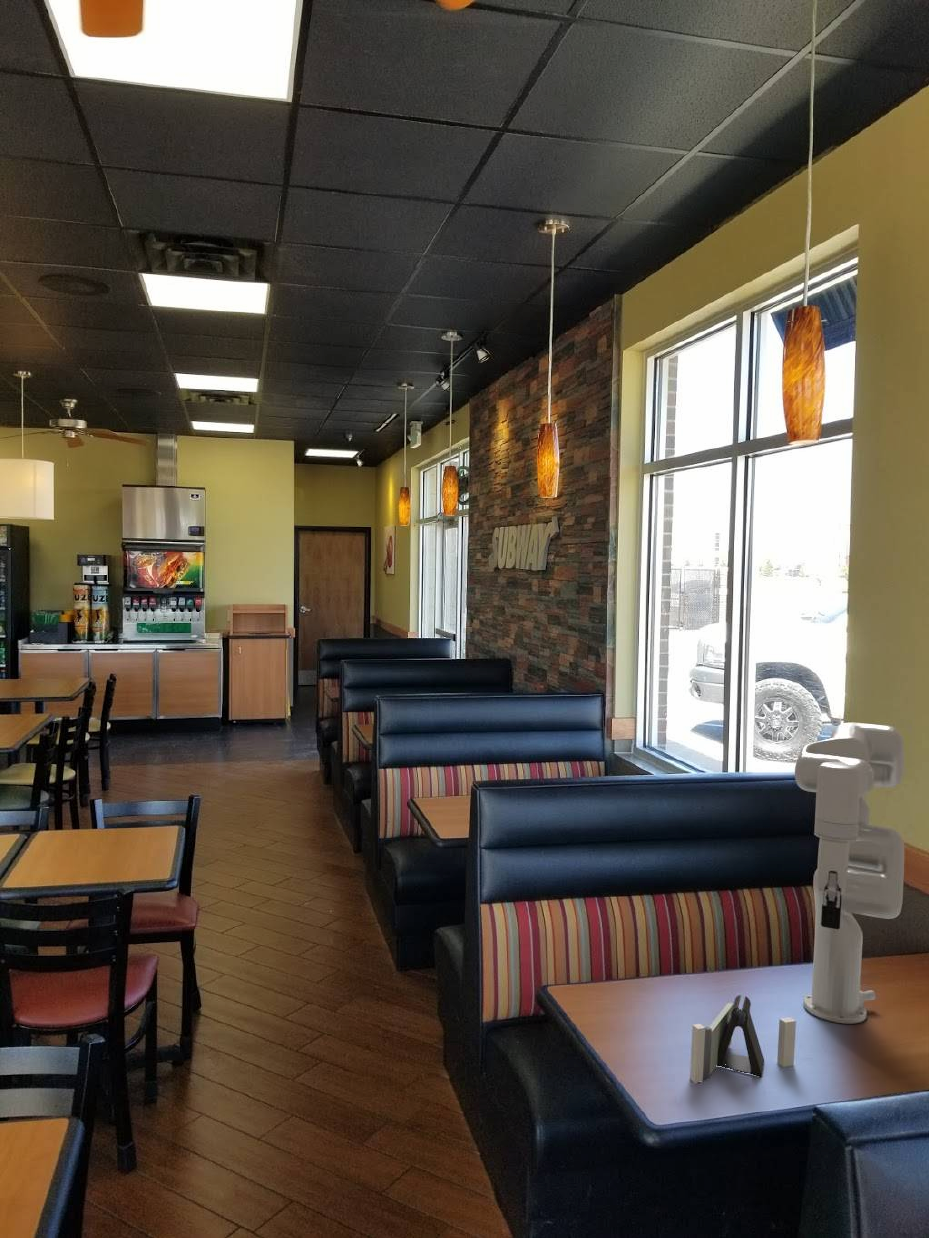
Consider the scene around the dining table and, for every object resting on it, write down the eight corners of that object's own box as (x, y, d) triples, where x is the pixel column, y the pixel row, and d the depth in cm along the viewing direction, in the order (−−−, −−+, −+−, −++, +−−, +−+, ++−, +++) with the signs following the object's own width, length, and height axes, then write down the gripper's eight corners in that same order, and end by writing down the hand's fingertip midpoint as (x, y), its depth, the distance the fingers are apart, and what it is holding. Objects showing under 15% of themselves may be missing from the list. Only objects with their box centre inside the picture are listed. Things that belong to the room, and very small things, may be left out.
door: (707, 1080, 162) (710, 1031, 161) (700, 1077, 162) (702, 1029, 162) (732, 1045, 175) (734, 1000, 175) (725, 1043, 176) (727, 998, 175)
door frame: (787, 1060, 170) (790, 1009, 170) (793, 1065, 169) (796, 1012, 169) (689, 1078, 162) (692, 1024, 162) (695, 1083, 161) (697, 1028, 161)
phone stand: (764, 1062, 169) (767, 1000, 169) (761, 1077, 164) (765, 1013, 164) (715, 1051, 173) (718, 990, 173) (711, 1065, 167) (714, 1002, 167)
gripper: (816, 816, 177) (811, 902, 177) (812, 836, 161) (807, 930, 162) (857, 822, 174) (852, 908, 174) (857, 843, 158) (852, 938, 158)
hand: (831, 919), depth 168 cm, fingers open, 9 cm apart
